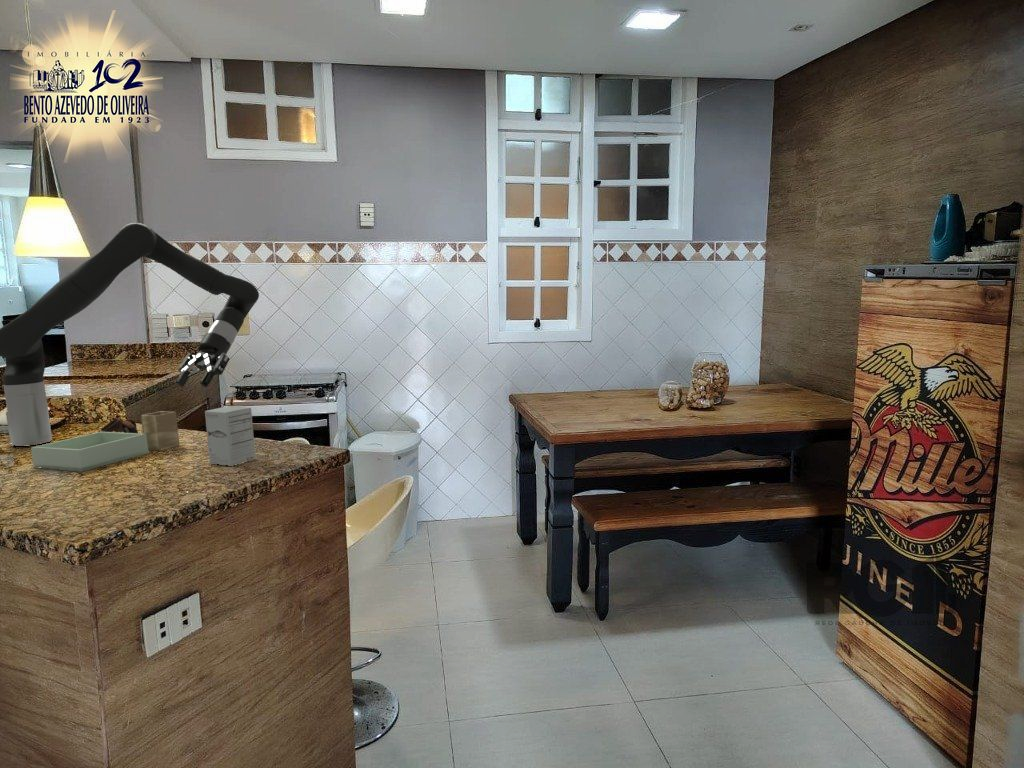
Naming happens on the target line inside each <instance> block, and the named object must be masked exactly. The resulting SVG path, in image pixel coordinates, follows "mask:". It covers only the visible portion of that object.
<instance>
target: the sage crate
mask: <svg viewBox="0 0 1024 768" xmlns="http://www.w3.org/2000/svg"><path fill="white" fill-rule="evenodd" d="M30 449H31V450H30V451H31V457H32V464H33V468H34V467H41V468H49V469H48V470H53V469H59V470H58V471H66V470H68V472H70V471H71V472H86V471H89V470H90V471H91V470H93V469H97V468H100V467H104V466H108V465H111V464H115V463H117V462H122V461H125V460H129V459H132V458H136V457H140V456H144V455H146V454H147V455H148V454H149V450H148V444H147V436H146V434H143V433H140V432H138V433H124V432H114V431H113V432H102V431H101V432H98V431H97V432H93V433H87V434H84V435H80V436H79V435H78V436H76V437H71V438H67V439H66V438H65V439H63V440H57V441H54V442H53V441H52V442H50V443H46V444H42V445H36V446H30Z"/></svg>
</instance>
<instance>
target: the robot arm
mask: <svg viewBox="0 0 1024 768" xmlns="http://www.w3.org/2000/svg"><path fill="white" fill-rule="evenodd" d="M141 258H146V259H149V260H151V261H154V262H156V263H159V264H161V265H162V266H164V267H167V268H168V269H170V270H172V271H173V272H175V273H177V275H179V276H180V277H182V278H183V279H184V280H186V281H188V282H190V283H192V284H193V285H195V286H197V287H198V288H200V289H202V290H203V291H206V292H208V293H210V294H212V295H214V296H219V295H221V294H223V295H226V296H228V299H227V300H226V302H225V304H224V306H223V308H222V309H221V310H220V312H219V313H218V315H217V316H216V318H215V320H214V321H213V322H212V324H211V325H210V326H209V328H208V329H207V331H206V332H205V334H204V335H203V337H202V339H201V341H200V342H199V344H198V352H197V353H195V355H194V354H192V353H190V352H189V353H188V352H187V354H186V355H185V357H184V358H183V360H182V361H181V363H180V364H179V365H178V366H177V370H178V371H179V372H180V374H179V376H178V378H177V380H176V384H177V385H178V386H179V387H181V388H182V387H185V385H186V383H187V381H188V380H189V378H190V376H191V375H193V374H194V373H198V372H200V371H202V370H206V372H205V373H204V375H203V377H202V378H201V380H200V382H199V383H200V385H201V386H202V387H203V388H207V387H208V386H209V385H210V384H211V382H212V380H213V379H214V377H216V376H217V375H219V376H221V375H223V373H224V371H225V369H226V367H227V365H228V363H229V362H230V359H231V358H230V357H228V355H227V354H228V353H229V350H230V349H231V347H232V345H233V343H234V342H235V339H236V337H237V334H238V333H239V331H240V330H241V328H242V326H243V324H244V322H245V321H244V320H245V319H246V318H247V316H248V314H249V313H250V311H251V310H252V308H253V307H254V306H255V305H256V303H257V302H258V299H259V298H260V293H259V290H258V289H257V287H256V286H255V285H254V284H252V283H251V282H249V281H247V280H244V279H242V278H239V277H236V276H233V275H229V274H226V273H224V272H222V271H221V270H218V269H217V268H215V267H213V266H211V265H209V264H208V263H206V262H204V261H202V260H200V259H198V258H197V257H194V256H193V255H190V254H188V253H187V252H184V251H183V250H181V249H180V248H178V247H176V246H175V245H173V244H172V243H170V242H168V241H167V239H165V238H163V237H162V236H160V234H158V233H157V232H155V231H154V230H153V229H152V228H151V226H148V225H147V224H145V223H140V222H131V223H128V224H125V225H124V226H122V227H121V228H120V230H118V232H117V233H116V234H115V235H114V236H113V237H112V238H111V239H110V241H109V242H108V243H107V244H106V245H105V246H104V247H102V249H100V250H99V251H98V252H96V253H95V254H94V255H92V256H91V257H89V258H88V259H86V260H85V261H83V262H82V263H80V264H79V265H78V266H77V267H75V268H73V270H71V271H70V272H68V273H67V274H65V276H63V277H62V278H61V279H60V280H59V281H57V282H56V283H55V284H54V285H53V286H52V287H51V288H50V289H49V290H47V291H46V292H45V293H44V294H43V295H42V296H41V297H40V298H39V299H38V300H37V301H36V302H35V303H34V304H33V305H31V307H29V308H28V309H27V310H26V311H25V312H23V313H21V314H20V315H18V316H17V317H16V318H14V319H12V320H11V321H10V322H8V323H7V324H5V325H3V326H1V327H0V357H1V358H4V359H5V370H4V372H3V374H2V384H3V391H4V398H5V404H6V413H5V416H6V422H7V428H8V429H7V431H8V436H9V443H12V445H18V446H24V445H34V444H40V443H45V442H49V441H51V440H52V441H53V437H52V429H51V422H50V415H49V414H50V413H49V407H48V400H47V391H46V386H45V385H46V383H45V380H44V379H45V377H44V375H45V371H46V370H45V369H46V365H45V364H46V362H45V354H44V352H45V351H44V345H43V340H42V338H43V337H44V336H45V335H46V334H47V333H48V332H50V331H51V330H53V329H54V328H56V327H57V326H59V325H60V324H61V323H64V322H65V321H67V320H69V319H71V318H72V317H74V316H76V315H77V314H79V313H81V312H82V311H83V310H84V309H86V308H87V307H88V306H90V305H92V303H93V302H94V301H96V300H97V299H98V298H99V297H100V296H101V295H102V294H103V293H104V292H105V291H106V290H107V289H108V288H109V287H110V285H111V284H112V283H113V282H114V281H115V279H116V278H117V277H118V276H119V275H120V273H122V272H123V271H124V270H126V268H128V267H130V266H131V265H132V264H134V263H135V262H137V261H138V260H140V259H141ZM190 369H191V370H190ZM12 445H11V446H12Z"/></svg>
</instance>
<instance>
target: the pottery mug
mask: <svg viewBox="0 0 1024 768" xmlns="http://www.w3.org/2000/svg"><path fill="white" fill-rule="evenodd" d="M97 432H119V433H139V432H138V428H137V424H136V421H134V419H131V418H127V419H125V420H123V419H122V417H117V418H115V419H113V420H111V421H110V422H108V423H107V424H106V425H104V426H103V427H102V428H100V430H98V431H97Z"/></svg>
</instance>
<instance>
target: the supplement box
mask: <svg viewBox="0 0 1024 768" xmlns="http://www.w3.org/2000/svg"><path fill="white" fill-rule="evenodd" d="M204 416H205V427H206V437H207V447H208V449H207V450H208V457H209V459H208V460H209V464H210V465H217V464H219V466H225V465H228V466H227V467H230V466H232V465H235V464H238V463H242V462H245V461H249V460H252V459H255V458H256V448H255V439H254V438H255V437H254V427H253V415H252V407H244V406H243V407H242V406H230V405H228V406H227V405H226V406H223V407H222V406H221V407H218V408H214V409H213V408H212V409H207V410H205V411H204ZM255 460H256V459H255ZM249 462H250V461H249ZM232 467H233V466H232Z"/></svg>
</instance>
